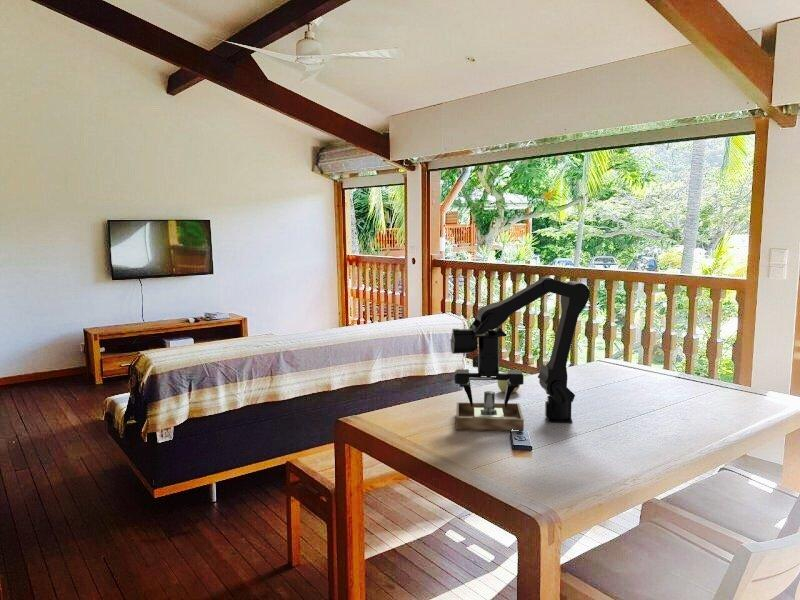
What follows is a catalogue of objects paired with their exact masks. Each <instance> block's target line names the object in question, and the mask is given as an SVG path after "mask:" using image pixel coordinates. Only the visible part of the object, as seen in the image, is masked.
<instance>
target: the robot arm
mask: <svg viewBox="0 0 800 600" xmlns="http://www.w3.org/2000/svg"><path fill="white" fill-rule="evenodd" d="M549 293H551V294H556V295H560V308H561V313H560V318H559V321H558V326H557V329H556V334H555V338H554V342H553V346H552V351H551V355H550V358H549V361H548V362H547V363H546V365H545V364H543V363H542V364H540V369H539V370H540V371H539V374H538V376H537V378H538V379H539V381H538V383H539V385H540V387H541V388H542V389H544V391H545V392H546V394H547V398H546V399H547V400H546V401H545V405H544V407H545V408H544V416H545V418H546V419H547V421H548V422H549V423H573V419H572V404H573V402H574V400H575V397H576V395H575V393H574V392H573V391H571V389H570V388H569V387H568V368H567V363H568V359H569V355H570V351H571V347H572V342H573V339H574V336H575V331H576V327H577V322H578V318H579V316H580V314H581V313H582V312H583V310H584V309H585V308H586V305H587V303H588V301H589V299H590V295H591V290H590V289H589V287H588V286H587V285H586V284H584V283H581V282H578V281H575V280H569V281H567V282H564V281H561V280H560V281H559V280H556V279H554V278H552V277H549V276H542V277H541V278H539V279H538V280H537V281H535V282H533V283H531V284H530V285H527V286H526V287H524V288H523V289H521V290H519V291H517V292H515V293H514V294H511V295H510V296H509V297H506V298H505V299H503V300H500V301H496V302H492V303H489V304H487V305H484V306H482V307H480V308H479V309H478V310H477V313H476V318H475V319H474V321H472V323H471V324H470V326H469V327H468V328H461V329H460V328H452V332H451V335H450V336H451V339H450V350H451V353H452V354H453V355H454V354H455V355H457V354H473V353H474V352H476V350H477V349H478V350H477V351H478V352H477V355H472V368H477V372H470V371H469V369H465V368H463V369H460V368H459V369H456V370H454V384H456V385H459V387H461V388H463V389H464V392H465V394H466V396H467V399H468V400H469V403H470V404H471V407H473V403H474V402H473V401H474V399H473V394H472V387H471V386H472V385H471V381H498V380H506V391H505V392H504V398H503V399H504V402H503V403H504V407H506V406H507V403H509V401H510V398H511V396H512V392H513V390H514V389H515V388H517V387H519V385H520V386H522V385H524V374H523V371H521V370H520V369H509V370H508V369H507V372H508V373H503V372H500V338H501V337H502V338H503V337H507V333H506V332H504V330H503V329H502V328H501V325H503V324H505V322H506V321H507V320H508V319H509V318H510V316H511V315H513V314H514V313H515V312H517V311H519V310H521V309H523V308H525V307H526V306H528V305H530V304H531V303H533V302H535V301H537V300H538V299H539V298H542V297H543V296H546V295H547V294H549ZM452 354H451V355H452ZM519 388H520V387H519ZM513 393H514V392H513Z"/></svg>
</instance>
